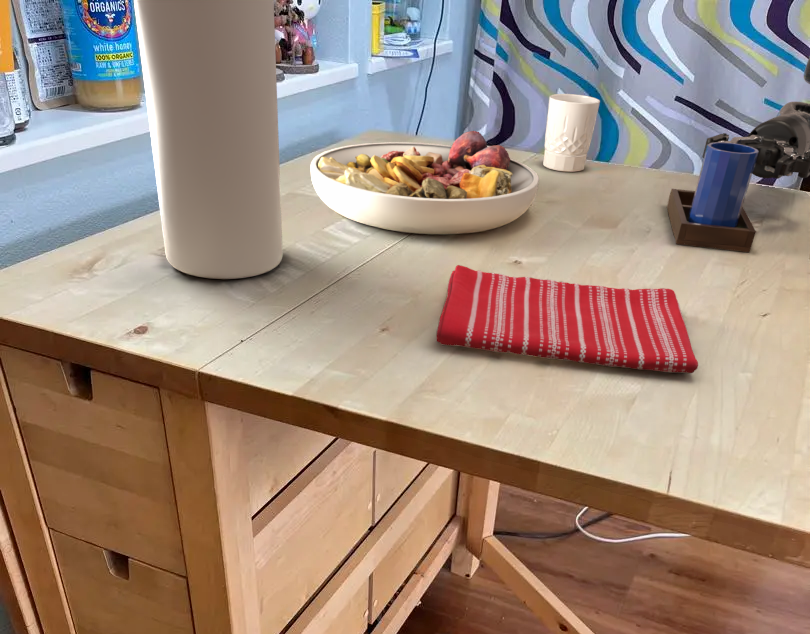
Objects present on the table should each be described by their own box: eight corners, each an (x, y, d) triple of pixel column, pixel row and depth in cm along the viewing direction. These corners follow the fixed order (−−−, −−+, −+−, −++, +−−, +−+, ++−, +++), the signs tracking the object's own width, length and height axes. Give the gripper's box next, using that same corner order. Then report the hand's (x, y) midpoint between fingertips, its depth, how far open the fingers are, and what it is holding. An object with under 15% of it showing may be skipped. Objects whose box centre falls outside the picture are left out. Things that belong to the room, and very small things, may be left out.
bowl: (467, 260, 93) (474, 188, 88) (264, 208, 105) (261, 142, 100) (567, 205, 114) (578, 145, 109) (389, 167, 125) (391, 111, 120)
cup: (730, 227, 107) (754, 145, 101) (736, 240, 102) (761, 155, 96) (684, 221, 108) (705, 140, 102) (687, 235, 103) (710, 150, 97)
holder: (731, 214, 115) (737, 195, 113) (749, 252, 101) (756, 231, 100) (666, 207, 116) (671, 188, 114) (676, 244, 102) (681, 223, 101)
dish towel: (451, 284, 87) (454, 260, 85) (675, 310, 84) (682, 285, 83) (429, 350, 73) (431, 322, 71) (694, 382, 71) (703, 354, 69)
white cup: (553, 158, 136) (563, 92, 130) (595, 167, 133) (608, 99, 127) (530, 166, 131) (540, 97, 125) (574, 175, 128) (586, 105, 122)
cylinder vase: (158, 246, 91) (123, -23, 76) (267, 239, 95) (254, -18, 80) (177, 286, 82) (142, -11, 67) (296, 276, 86) (288, -6, 71)
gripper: (737, 108, 117) (699, 122, 106) (840, 124, 111) (811, 141, 100) (722, 163, 121) (684, 183, 111) (820, 182, 115) (790, 204, 104)
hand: (744, 163), depth 105 cm, fingers open, 8 cm apart
